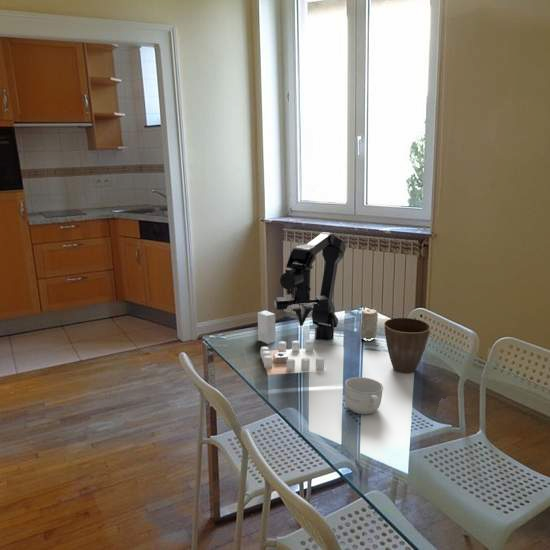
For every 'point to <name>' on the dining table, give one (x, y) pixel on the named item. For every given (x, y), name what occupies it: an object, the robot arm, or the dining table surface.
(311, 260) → the robot arm
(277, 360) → the nut
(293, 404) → the dining table surface
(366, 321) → the beige upright cylinder
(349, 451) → the dining table surface
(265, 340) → the skincare box
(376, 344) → the dining table surface
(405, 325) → the plant pot
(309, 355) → the board
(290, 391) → the dining table surface
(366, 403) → the teacup
